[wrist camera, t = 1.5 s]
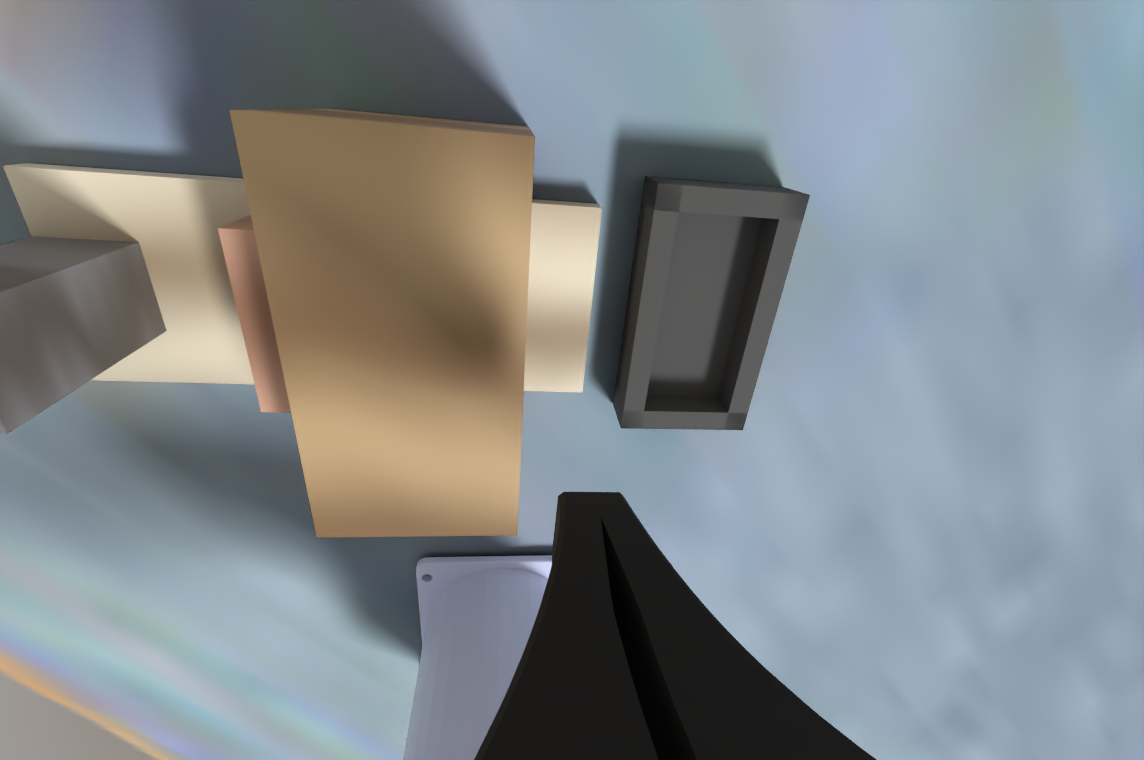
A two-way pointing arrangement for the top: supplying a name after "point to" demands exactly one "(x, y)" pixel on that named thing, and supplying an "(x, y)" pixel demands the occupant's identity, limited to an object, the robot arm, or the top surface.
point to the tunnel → (397, 311)
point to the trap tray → (702, 300)
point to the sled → (206, 288)
